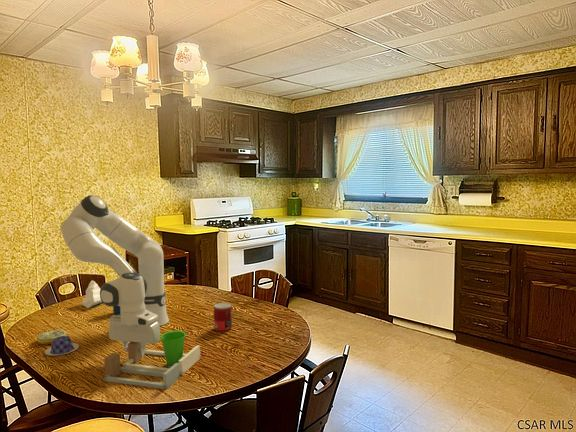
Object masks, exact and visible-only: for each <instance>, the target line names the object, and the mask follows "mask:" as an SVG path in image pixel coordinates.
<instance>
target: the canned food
mask: <svg viewBox="0 0 576 432" xmlns="http://www.w3.org/2000/svg"><path fill="white" fill-rule="evenodd" d="M232 309H233V308H232V304H231V303H229V302H218V303H216V304H214V305H213V320H214V321H213V323H214V324H213V325H214V326H213V327H214V330H215V331H217V332H229V331H231V330H232V327H233V320H232V319H233V315H232V313H233V312H232V311H233V310H232Z"/></svg>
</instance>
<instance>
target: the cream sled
mask: <svg viewBox="0 0 576 432" xmlns="http://www.w3.org/2000/svg"><path fill="white" fill-rule="evenodd" d="M141 347H142V345H141V343H139V342H129V341H128V352H127V354H128V357H127V358H128V360H127V361H125V362H124V363H122V366H121V367H126V368H134V369H142V370H150V371H158V372H166V371H167V370H168V369H169V368H170V367H160V366H153V365H145V364H137V362H138V361H140V360H141V359H143V357H144V356H145V355H154V356H163V357H165V353H164V350H156V349H147V348H145V352H144V353H143V354H140V353H139V350H138V349H140V348H141ZM200 359H201V345H196V346H194V347H193V348H192V349H191V350H190V351H189V352H187V353H184V352H183V356H182V358H181V359H180V360H179V375H180V376H183V375H184V374H185V373H186V372H187V371H189V369H190V368H191V367H192V366H193V365H195V364H196V363H197V362H198V361H199V360H200Z"/></svg>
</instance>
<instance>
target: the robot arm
mask: <svg viewBox="0 0 576 432" xmlns="http://www.w3.org/2000/svg"><path fill="white" fill-rule="evenodd" d="M94 229H96V230H98V232H99V233H101V234H102V235H103V236H105V237H106V238H107V239H108V240H110V241H111V242H113V243H114V244H116V245H117V246H118V247H120V248H121V249H124V250H125V251H127V252H128V253H130V254H132V255H133V256H134V257H136V258H137V260H138V262H137V263H138V272H137V271H136V270H135V269H134V268H133V267H132V266H131V265H130V264H129V262H128V261H127V260H126V259H125V258H124V257H123V256H122V255H121V254H120V252H118V250H116V249H115V248H114V247H113V246H110V245H109V244H107V243H106V242H104V241H103V240H102V238H100V237H99V236H98V234H97V233H96V232H95V231H94ZM60 231H61V232H60V233H61V235H62V237H63V239H64V240H63V241H64V242H65V244H66V245H67V247H68V249H69V250H70V252H71V254H72V256H74V257H75V258H76V259H77V260H79V261H81V262H85V263H91V264H92V263H93V264H101V265H105V266H108V267H109V268H111V269H112V270H113V271H114V272H115V273H116V274H117V276H118V278H115V279H112V280H110V281H107V282H104V283H103V284H102V285H101V287H100V299H101V301H102V302H101V303H102V304H103V305H105V306H107V307H110V308H111V307H112V308H113V306H120V315H116V314H113V315H111V316H110V318H109V327H108V337H109V340H112V341H120V342H121V344H122V345H123V347H124V352H125V353H128V343H129V342H139V343H141V345H142V347H141V348H140V349H138V350H139V353H140V354H143V353H144V352H145V349H146V347H147V345H148V344H150V345H155V344H156V343H158V342H159V341H160V340H161V338H160V337H161V328H160V327H161V326H164V325H166V324H167V323H169V322H170V319H169V316H168V311H167V306H166V291H165V278H164V277H165V274H164V273H165V269H164V268H165V267H164V266H165V265H164V263H165V261H164V256H165V255H164V250H163V248H162V246H161V244H160V243H159V242H158V241H156V239H153V238H152V237H150V236H149V235H148V234H146V233H145V232H143V231H142V230H140V229H138V228H137V227H136V226H134V225H133V224H132V223H131V222H129V221H128V220H126V219H125V218H124V217H122V216H121V215H119V214H118V213H116V212H115V211H112V210H110V209H109V208H108V204H107V203H106V202H105V200H103V199H102V198H101V197H99V196H96V195H92V194H90V195H87V196H85V197H84V198H82V200H80V202H79V203H78V204H77V205H76V206H75V207H74V208H73V209H72V210H71V212H70V213H69V215H68V216H67V219H65V220H64V221H63V222H62V223H61V225H60Z"/></svg>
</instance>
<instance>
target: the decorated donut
mask: <svg viewBox="0 0 576 432" xmlns="http://www.w3.org/2000/svg"><path fill="white" fill-rule="evenodd" d="M60 336H67V331H65V330H64V329H53V330H52V329H51V330H48V331H44V332H42V333H40V334H38V335H37V336H36V341H37V342H38V343H39V344H40V345H42V344H44V346H47V345H48V344H49V345H52V343H53V340H54V339H55V338H57V337H60Z"/></svg>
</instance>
